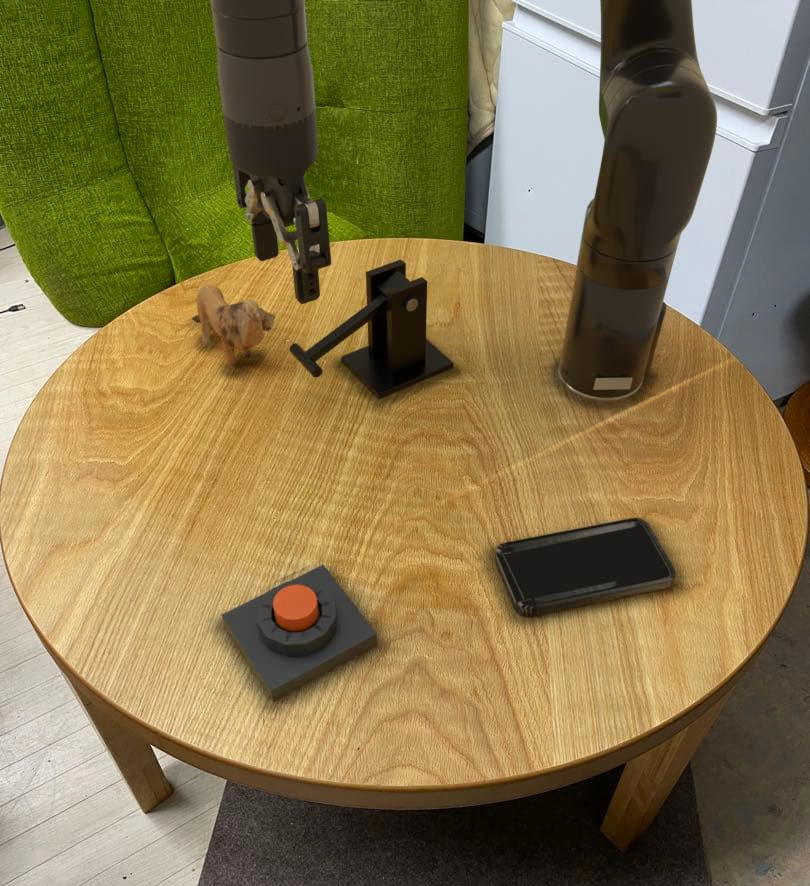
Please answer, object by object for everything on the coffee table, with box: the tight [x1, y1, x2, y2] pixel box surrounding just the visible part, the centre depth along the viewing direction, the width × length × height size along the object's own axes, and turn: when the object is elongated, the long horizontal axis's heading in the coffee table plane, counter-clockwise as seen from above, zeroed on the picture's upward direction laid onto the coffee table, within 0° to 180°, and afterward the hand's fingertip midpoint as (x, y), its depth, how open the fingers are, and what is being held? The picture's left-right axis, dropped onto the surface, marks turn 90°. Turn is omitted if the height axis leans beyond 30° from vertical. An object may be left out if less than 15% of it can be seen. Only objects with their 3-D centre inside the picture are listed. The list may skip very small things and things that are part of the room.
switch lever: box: [288, 271, 411, 379], centre depth 90 cm, size 14×5×2 cm, turn 123°
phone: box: [494, 517, 677, 618], centre depth 79 cm, size 8×1×15 cm
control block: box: [221, 564, 378, 703], centre depth 73 cm, size 10×9×4 cm
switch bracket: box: [340, 259, 454, 400], centre depth 94 cm, size 10×8×12 cm
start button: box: [273, 585, 319, 632], centre depth 71 cm, size 4×4×2 cm
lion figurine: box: [191, 284, 276, 369], centre depth 97 cm, size 15×5×9 cm, turn 44°
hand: (287, 278), depth 83 cm, fingers open, 8 cm apart
